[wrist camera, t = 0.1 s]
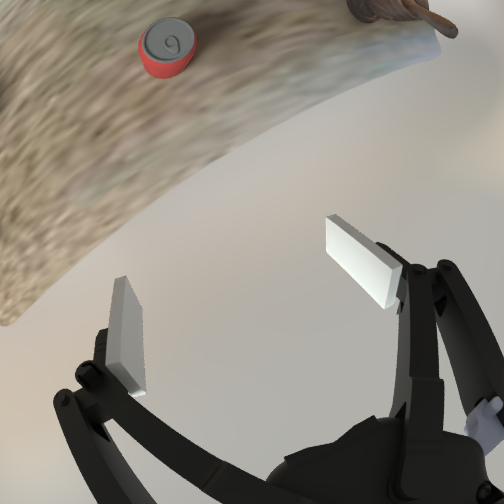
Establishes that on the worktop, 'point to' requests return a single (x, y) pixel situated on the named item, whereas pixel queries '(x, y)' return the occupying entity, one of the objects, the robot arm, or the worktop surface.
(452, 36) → the mortar and pestle
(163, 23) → the beer can
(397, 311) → the robot arm
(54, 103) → the worktop surface
